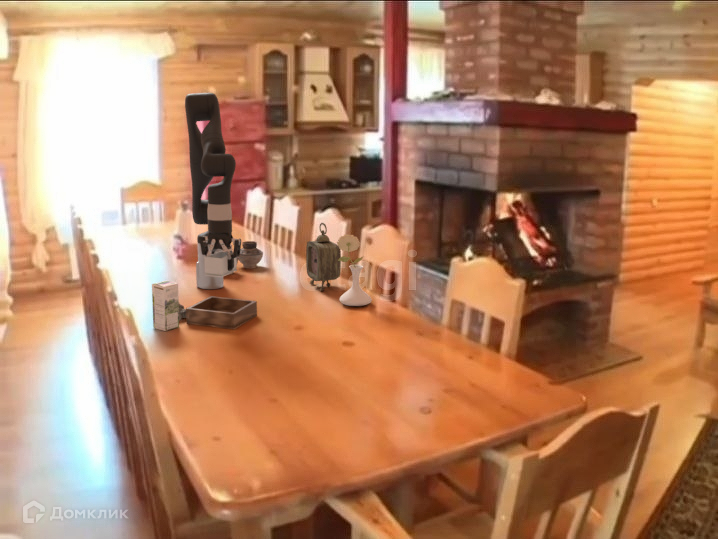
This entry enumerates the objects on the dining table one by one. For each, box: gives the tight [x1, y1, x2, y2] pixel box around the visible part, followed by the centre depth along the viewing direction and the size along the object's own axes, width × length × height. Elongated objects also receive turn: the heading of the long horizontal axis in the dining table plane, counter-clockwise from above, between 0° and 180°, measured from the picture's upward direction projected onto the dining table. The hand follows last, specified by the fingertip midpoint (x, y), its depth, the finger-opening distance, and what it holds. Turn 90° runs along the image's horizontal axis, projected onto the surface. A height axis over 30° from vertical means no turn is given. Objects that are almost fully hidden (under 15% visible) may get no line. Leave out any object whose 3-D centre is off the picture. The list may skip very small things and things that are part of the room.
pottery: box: [223, 240, 264, 276], centre depth 307 cm, size 11×25×12 cm, turn 148°
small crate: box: [204, 251, 238, 278], centre depth 236 cm, size 6×10×6 cm, turn 162°
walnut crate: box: [185, 295, 258, 330], centre depth 239 cm, size 17×16×5 cm
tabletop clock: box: [305, 222, 342, 292], centre depth 280 cm, size 14×9×25 cm, turn 23°
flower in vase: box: [336, 234, 373, 307], centre depth 258 cm, size 13×11×25 cm
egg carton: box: [179, 303, 186, 321], centre depth 240 cm, size 11×8×4 cm
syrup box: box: [151, 280, 180, 332], centre depth 229 cm, size 6×6×14 cm
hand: (221, 269), depth 236 cm, fingers closed on small crate, 6 cm apart
